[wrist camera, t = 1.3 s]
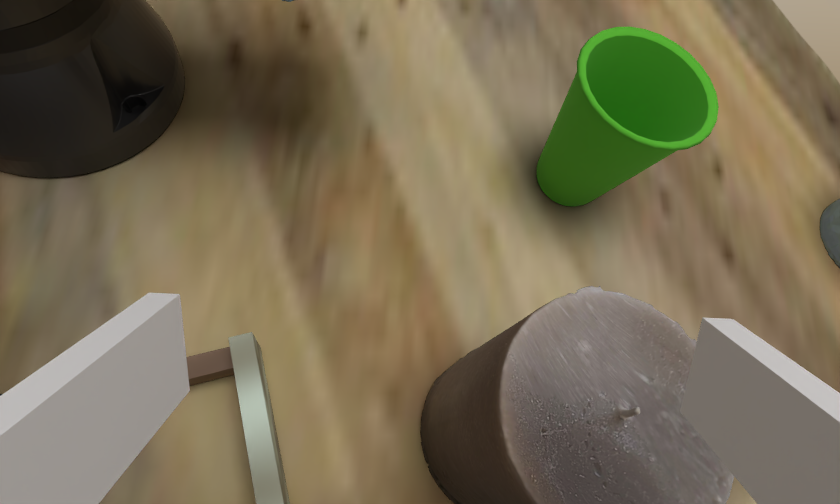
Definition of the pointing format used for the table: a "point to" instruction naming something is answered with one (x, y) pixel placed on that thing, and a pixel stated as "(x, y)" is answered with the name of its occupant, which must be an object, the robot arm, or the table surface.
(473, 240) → the table surface
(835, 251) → the grey plant pot
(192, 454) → the table surface
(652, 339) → the pillar candle
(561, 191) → the cup
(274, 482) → the trap lane
